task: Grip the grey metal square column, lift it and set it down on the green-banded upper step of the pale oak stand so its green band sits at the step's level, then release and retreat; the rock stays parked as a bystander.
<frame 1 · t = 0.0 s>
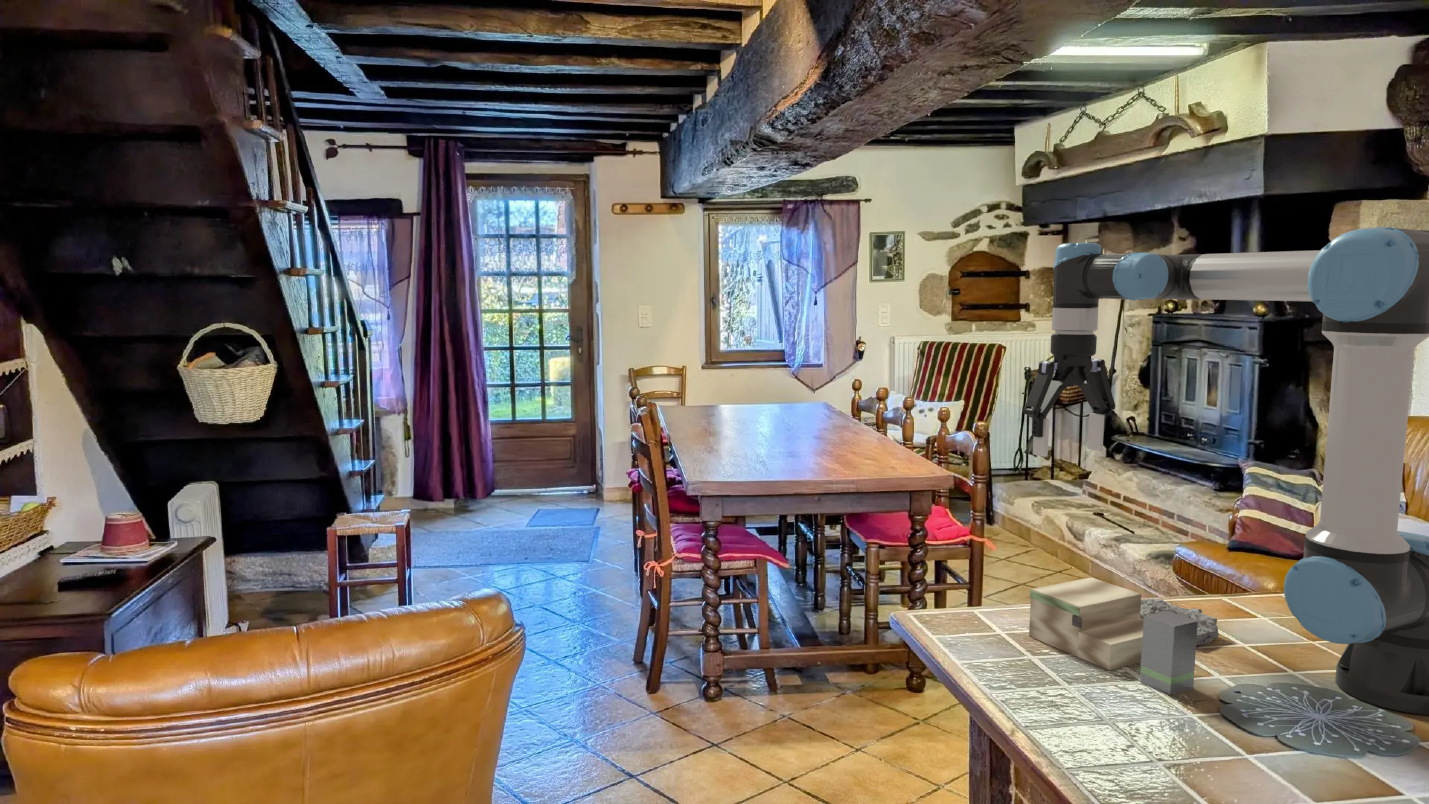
hand: (1068, 452, 170), 28 cm above the table, fingers open, 13 cm apart
rock: (1171, 635, 160), on the table
stand: (1095, 643, 155), on the table
column: (1166, 685, 139), on the table
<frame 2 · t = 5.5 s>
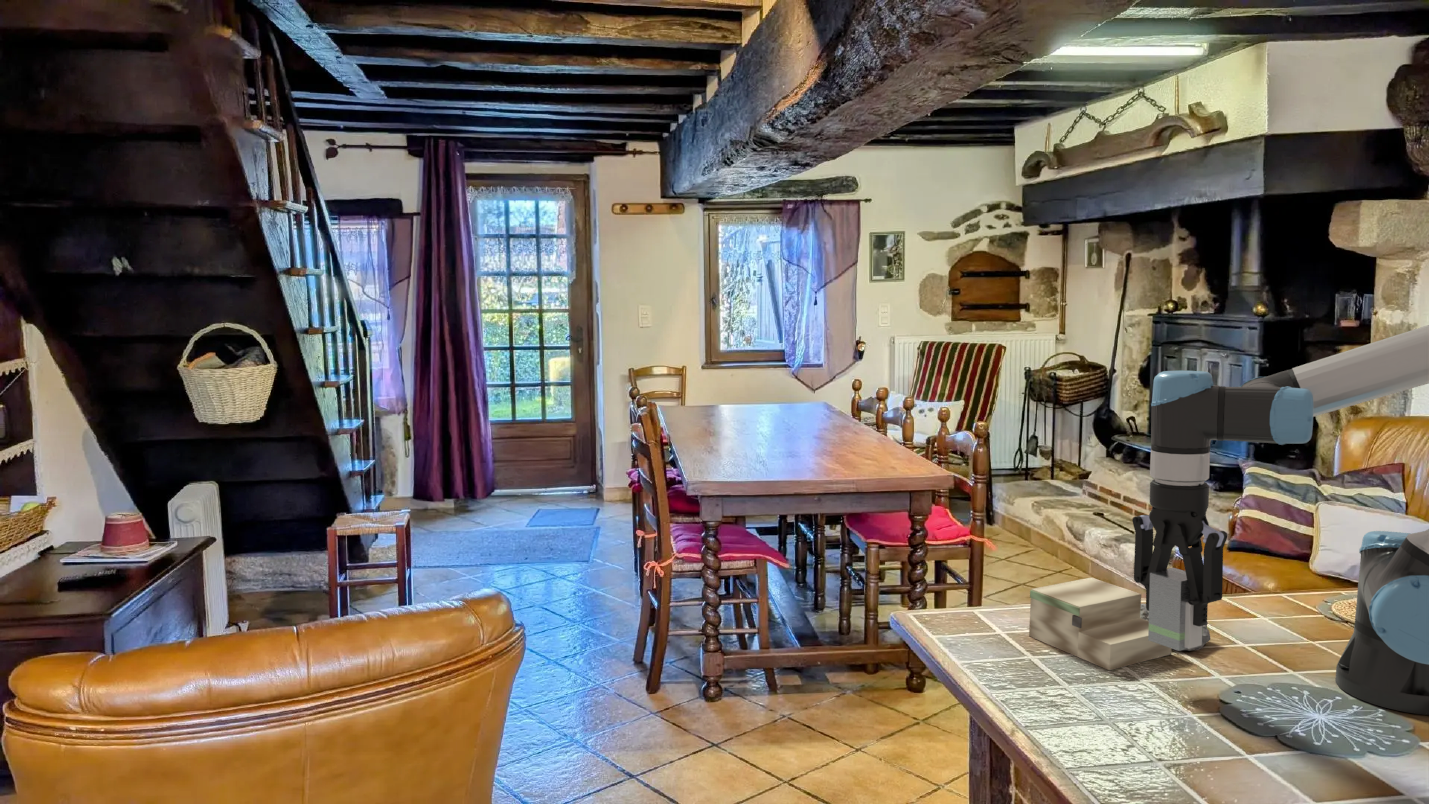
hand: (1175, 639, 138), 7 cm above the table, fingers closed on column, 5 cm apart
rock: (1162, 640, 158), on the table
column: (1175, 642, 138), point 7 cm above the table, touching gripper
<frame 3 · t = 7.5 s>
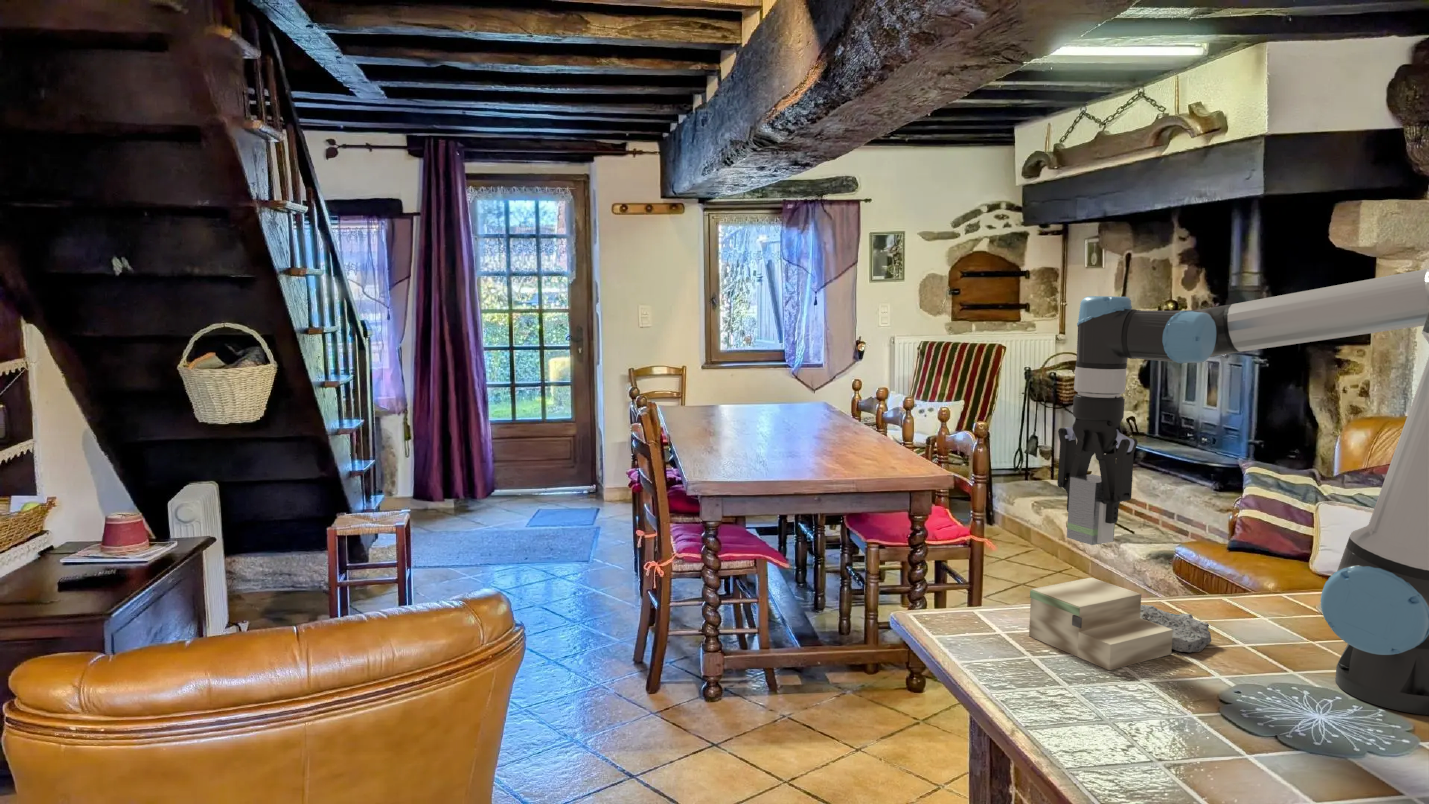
hand: (1090, 537, 154), 17 cm above the table, fingers closed on column, 5 cm apart
column: (1090, 539, 154), point 17 cm above the table, touching gripper
when the fingers open (9 cm above the table, at t = 10.0 s): column stays where it is, resting on stand.
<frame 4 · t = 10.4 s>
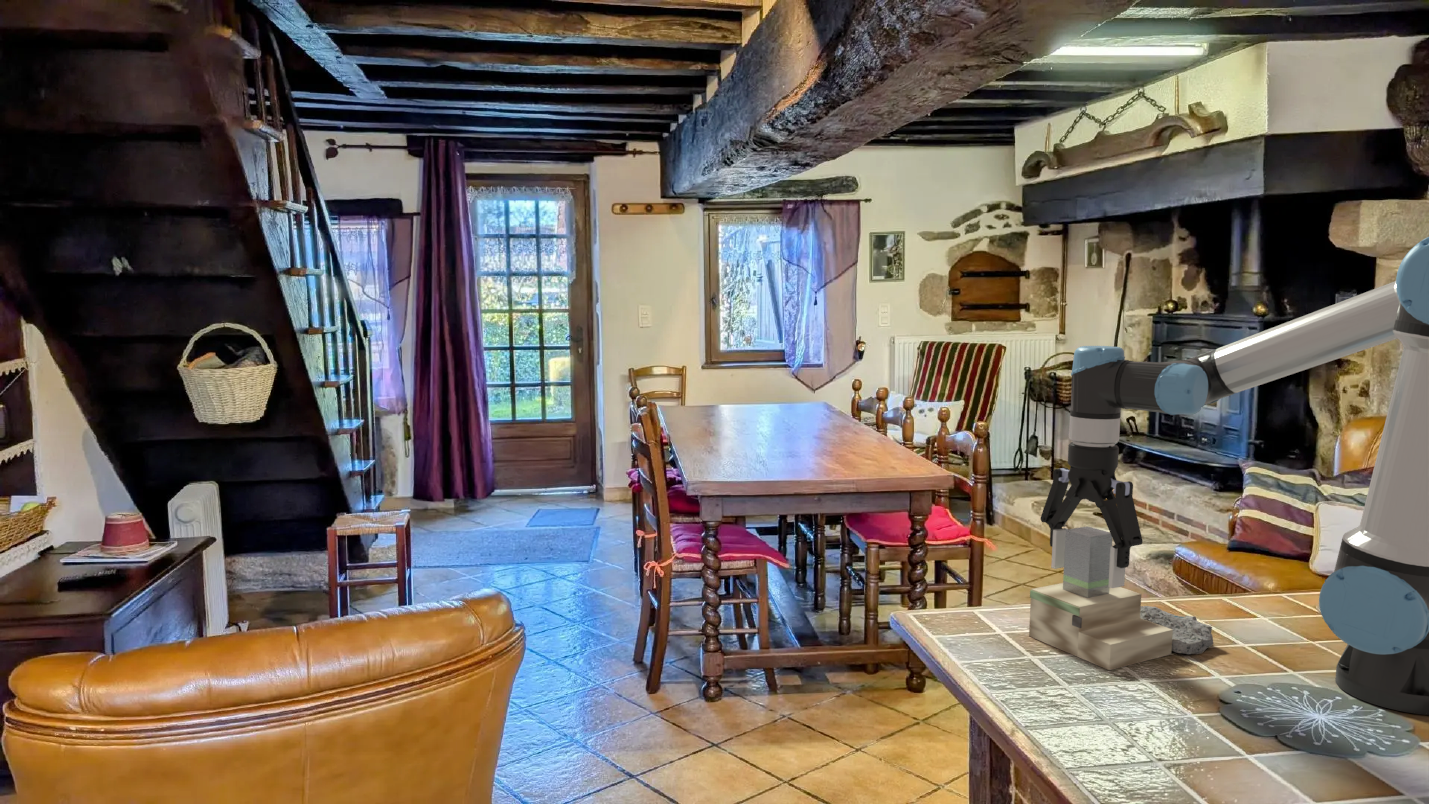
hand: (1086, 576, 156), 10 cm above the table, fingers open, 11 cm apart
column: (1085, 591, 156), point 8 cm above the table, touching stand
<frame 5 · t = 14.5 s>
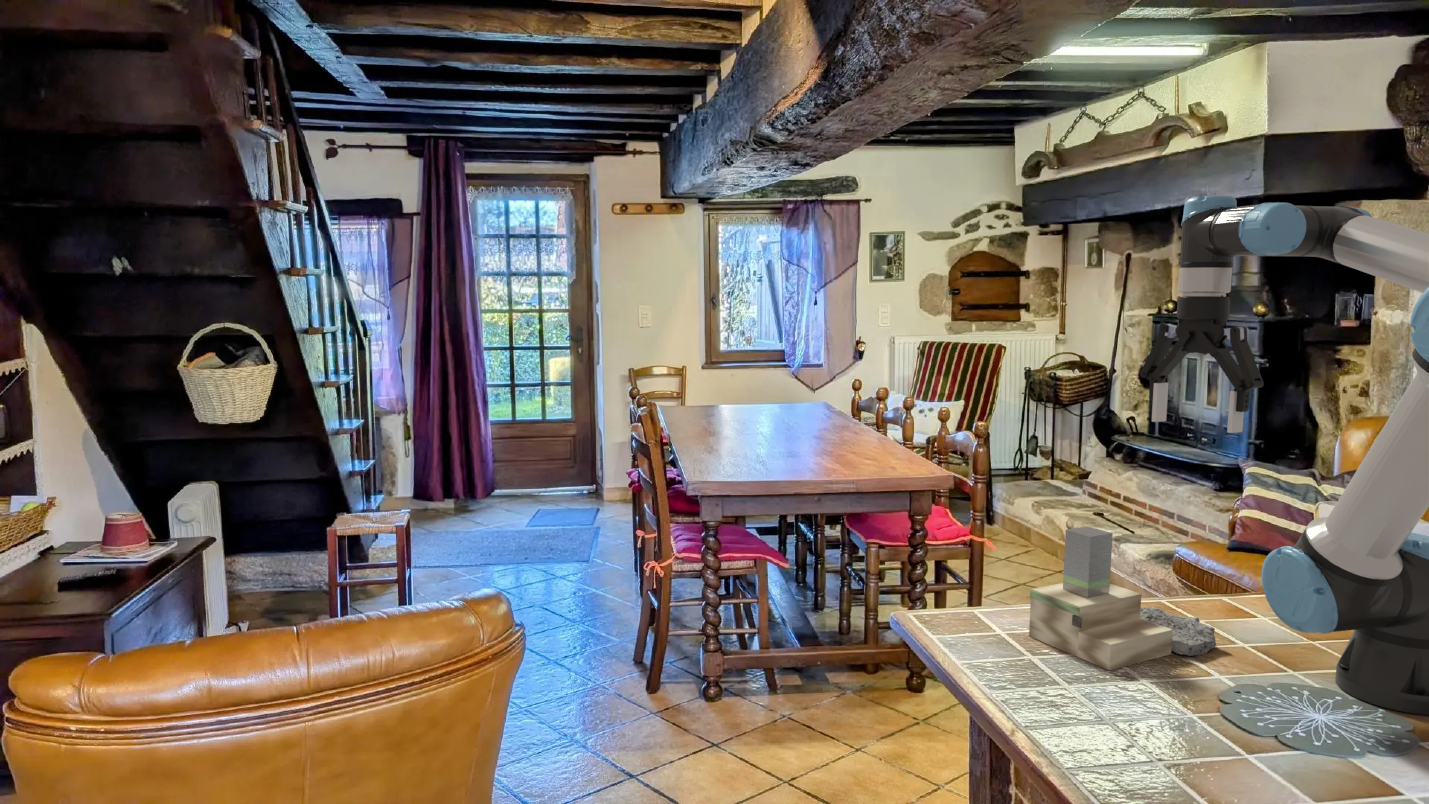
hand: (1195, 426, 156), 35 cm above the table, fingers open, 13 cm apart
at the end: column inside the target area on the stand (0.5 cm from its centre), point 8.0 cm above the stand's base; column tilted 0°; the gripper is holding nothing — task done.
